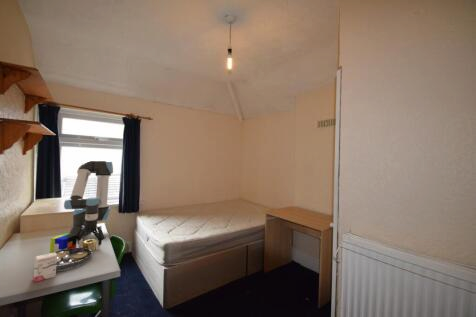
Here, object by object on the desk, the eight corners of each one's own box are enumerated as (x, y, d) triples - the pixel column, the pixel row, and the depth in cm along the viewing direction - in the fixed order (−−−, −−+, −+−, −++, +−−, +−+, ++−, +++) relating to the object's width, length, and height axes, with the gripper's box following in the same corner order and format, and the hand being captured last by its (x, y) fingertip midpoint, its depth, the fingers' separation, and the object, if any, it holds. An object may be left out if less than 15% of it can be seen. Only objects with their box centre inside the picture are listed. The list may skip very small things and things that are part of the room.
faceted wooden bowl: (87, 247, 152) (88, 238, 152) (98, 247, 152) (99, 239, 152) (79, 251, 144) (80, 243, 144) (91, 252, 144) (91, 243, 144)
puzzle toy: (62, 254, 139) (63, 239, 139) (49, 253, 140) (50, 238, 140) (76, 248, 149) (76, 234, 149) (64, 247, 150) (65, 233, 150)
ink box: (33, 282, 106) (35, 259, 107) (32, 279, 109) (34, 256, 110) (56, 276, 113) (57, 254, 113) (54, 273, 116) (56, 251, 116)
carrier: (62, 252, 142) (63, 244, 142) (100, 253, 142) (101, 245, 142) (24, 271, 116) (25, 261, 116) (70, 273, 116) (71, 263, 116)
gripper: (70, 220, 145) (68, 250, 144) (105, 221, 145) (102, 252, 144) (78, 217, 152) (76, 246, 151) (111, 218, 153) (109, 247, 152)
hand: (89, 249), depth 148 cm, fingers open, 12 cm apart
